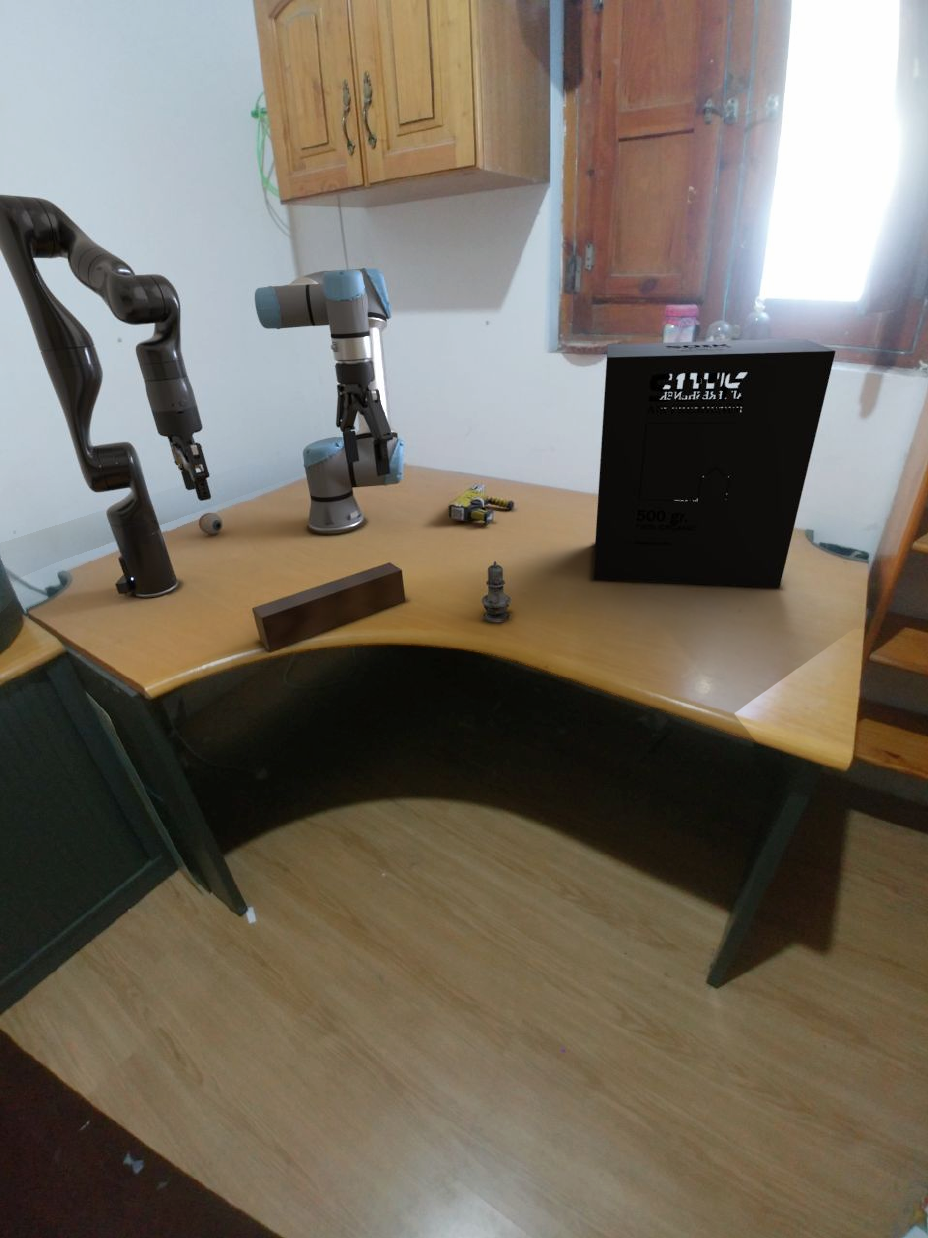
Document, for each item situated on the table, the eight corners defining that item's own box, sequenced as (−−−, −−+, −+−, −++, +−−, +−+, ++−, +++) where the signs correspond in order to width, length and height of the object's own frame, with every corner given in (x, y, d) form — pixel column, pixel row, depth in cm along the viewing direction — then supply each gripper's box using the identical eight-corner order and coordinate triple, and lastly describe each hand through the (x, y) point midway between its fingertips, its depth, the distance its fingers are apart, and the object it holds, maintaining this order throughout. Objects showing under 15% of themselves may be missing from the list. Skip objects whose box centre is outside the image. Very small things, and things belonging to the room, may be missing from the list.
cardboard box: (759, 548, 141) (803, 338, 119) (779, 587, 124) (835, 350, 102) (595, 543, 149) (607, 344, 126) (593, 579, 132) (607, 357, 109)
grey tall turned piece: (509, 624, 117) (508, 568, 111) (479, 622, 118) (477, 567, 112) (513, 609, 122) (512, 555, 116) (484, 607, 123) (482, 554, 117)
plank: (270, 652, 113) (261, 617, 109) (260, 641, 117) (251, 607, 113) (405, 601, 128) (402, 569, 124) (393, 593, 132) (389, 562, 128)
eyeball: (212, 539, 164) (206, 518, 161) (197, 535, 167) (191, 515, 164) (230, 531, 169) (224, 511, 166) (215, 528, 172) (210, 508, 169)
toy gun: (522, 488, 179) (474, 481, 183) (499, 513, 159) (446, 504, 163) (520, 503, 181) (473, 496, 185) (498, 529, 161) (446, 520, 165)
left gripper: (142, 403, 109) (168, 490, 117) (160, 414, 99) (188, 508, 107) (185, 397, 113) (207, 481, 121) (207, 406, 103) (230, 498, 111)
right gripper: (309, 358, 125) (326, 460, 136) (367, 368, 107) (381, 484, 118) (342, 354, 129) (356, 453, 139) (403, 362, 111) (413, 476, 122)
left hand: (198, 494), depth 114 cm, fingers open, 8 cm apart
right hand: (367, 468), depth 129 cm, fingers open, 13 cm apart
